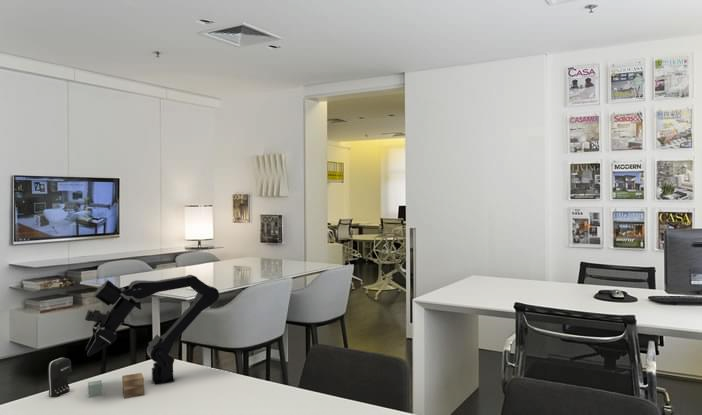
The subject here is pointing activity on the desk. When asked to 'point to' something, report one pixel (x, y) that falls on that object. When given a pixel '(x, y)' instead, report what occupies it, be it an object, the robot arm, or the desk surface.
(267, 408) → the desk surface
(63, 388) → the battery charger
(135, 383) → the brown square block
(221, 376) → the desk surface
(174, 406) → the desk surface
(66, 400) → the desk surface
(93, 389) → the sage block
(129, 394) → the block
